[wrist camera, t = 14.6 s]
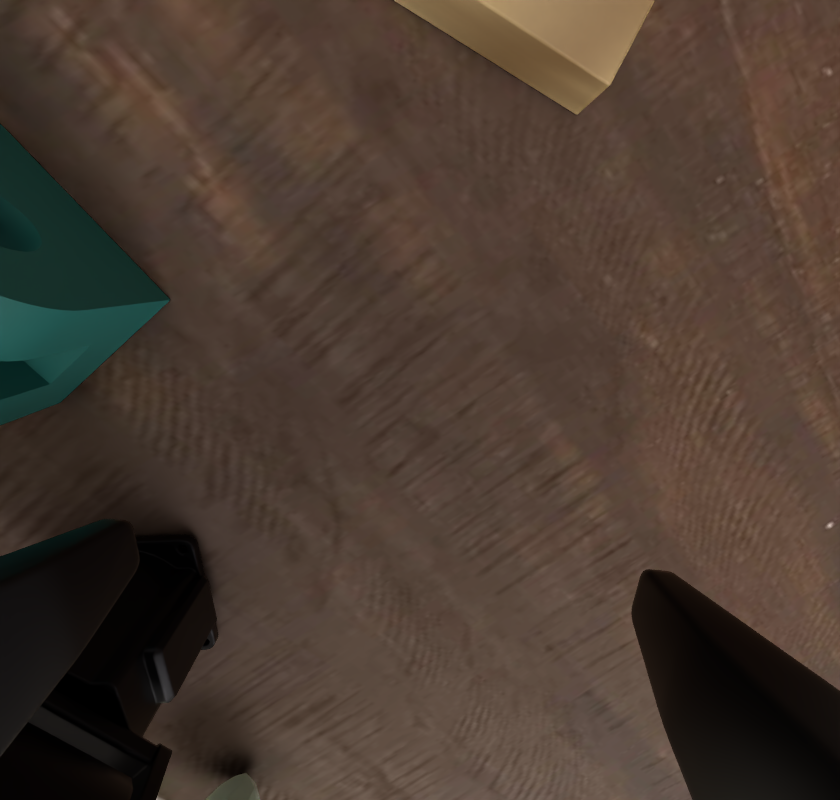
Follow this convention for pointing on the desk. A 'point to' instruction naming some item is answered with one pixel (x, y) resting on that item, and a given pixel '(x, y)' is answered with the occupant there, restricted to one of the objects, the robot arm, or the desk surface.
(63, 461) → the desk surface
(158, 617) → the robot arm
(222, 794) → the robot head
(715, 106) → the desk surface
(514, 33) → the rectangular slab
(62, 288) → the bracket
